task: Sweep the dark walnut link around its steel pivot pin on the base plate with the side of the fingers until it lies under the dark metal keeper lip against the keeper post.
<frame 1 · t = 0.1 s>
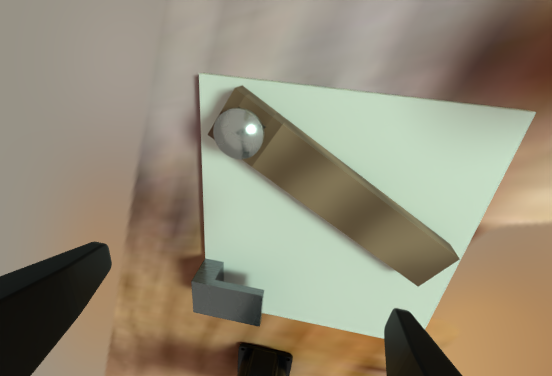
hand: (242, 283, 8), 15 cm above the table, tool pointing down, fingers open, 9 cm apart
keeper: (236, 273, 28), resting on base plate
base plate: (326, 227, 24), on the table
link: (336, 192, 20), point 2 cm above the table, hinge at 60.0°
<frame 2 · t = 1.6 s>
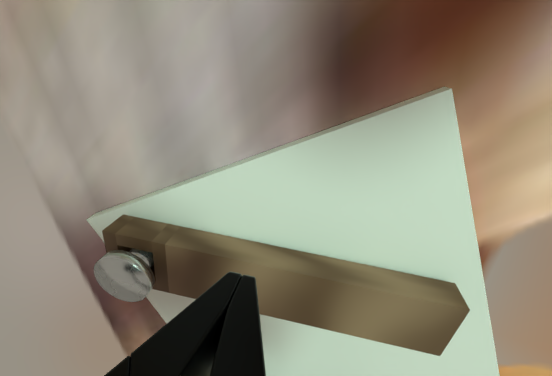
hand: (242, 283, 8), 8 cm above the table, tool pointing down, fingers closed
base plate: (302, 306, 19), on the table
link: (272, 281, 16), point 2 cm above the table, hinge at 60.0°
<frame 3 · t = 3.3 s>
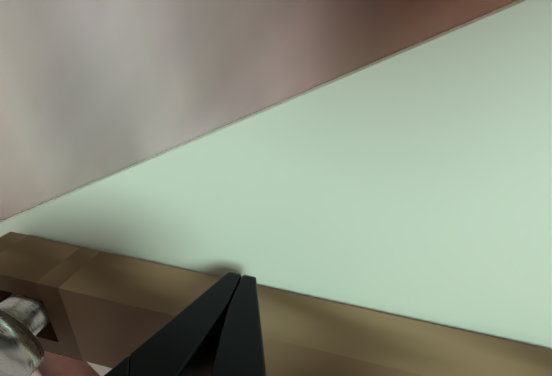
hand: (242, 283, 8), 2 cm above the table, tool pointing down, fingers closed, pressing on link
base plate: (303, 367, 13), on the table
link: (251, 345, 10), point 2 cm above the table, hinge at 60.0°, touching gripper
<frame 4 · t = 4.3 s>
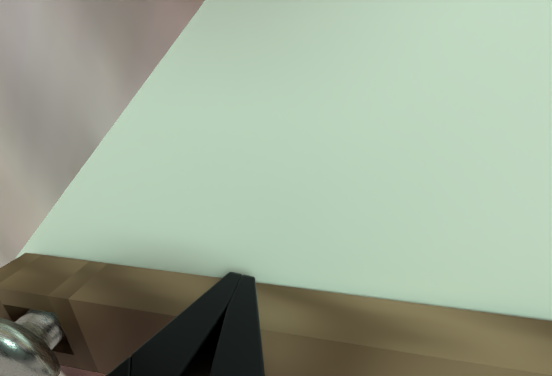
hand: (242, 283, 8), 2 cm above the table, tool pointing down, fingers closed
base plate: (336, 334, 11), on the table
link: (258, 343, 10), point 2 cm above the table, hinge at 47.0°, touching gripper
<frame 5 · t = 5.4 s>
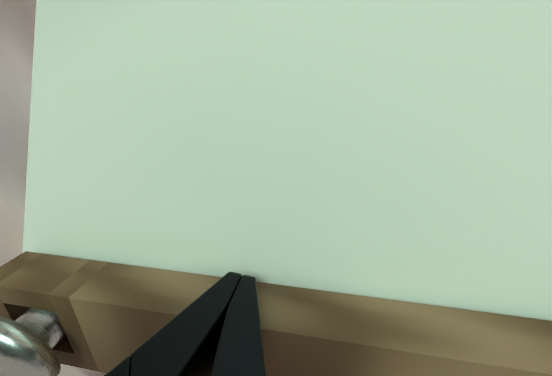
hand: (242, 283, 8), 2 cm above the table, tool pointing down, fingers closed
base plate: (341, 258, 10), on the table
link: (258, 342, 10), point 2 cm above the table, hinge at 26.5°, touching gripper
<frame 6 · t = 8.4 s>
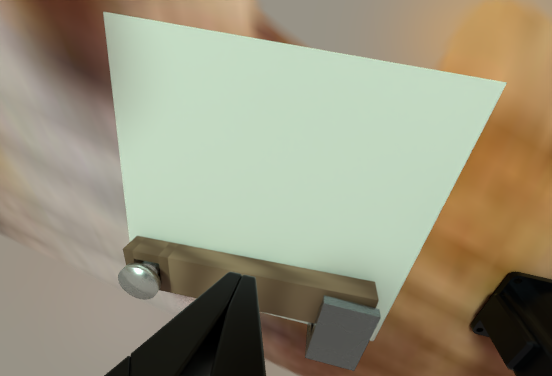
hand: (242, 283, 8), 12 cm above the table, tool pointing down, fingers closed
keeper: (337, 300, 24), resting on base plate
base plate: (267, 204, 21), on the table
link: (246, 282, 22), point 2 cm above the table, hinge at 3.5°
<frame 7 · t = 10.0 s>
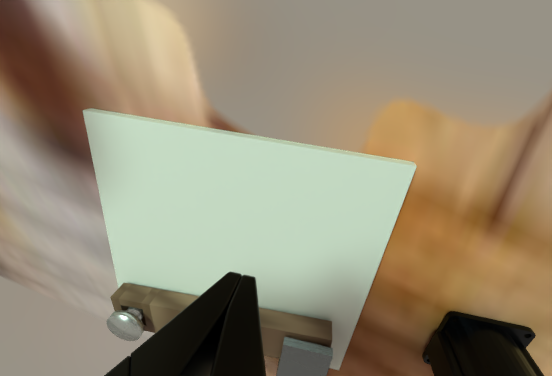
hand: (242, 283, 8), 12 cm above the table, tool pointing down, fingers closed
keeper: (304, 334, 27), resting on base plate
base plate: (234, 255, 24), on the table
link: (219, 323, 25), point 2 cm above the table, hinge at 3.5°
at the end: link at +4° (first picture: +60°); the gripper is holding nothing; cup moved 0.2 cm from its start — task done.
